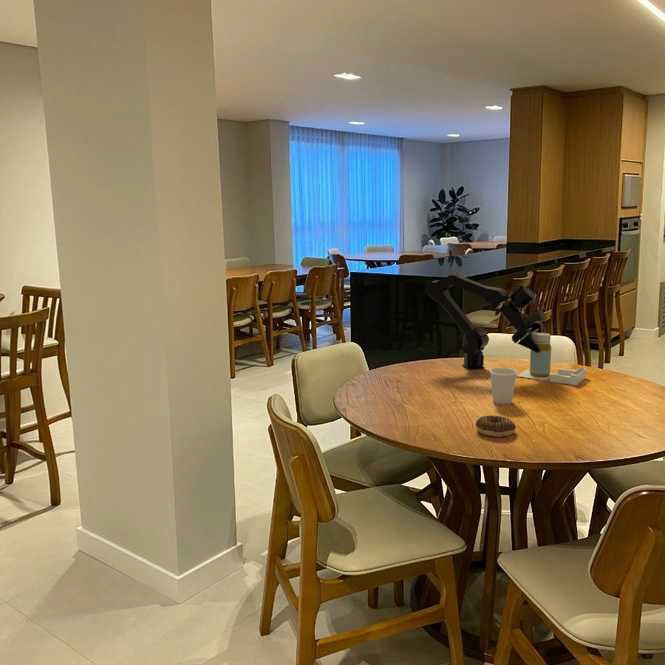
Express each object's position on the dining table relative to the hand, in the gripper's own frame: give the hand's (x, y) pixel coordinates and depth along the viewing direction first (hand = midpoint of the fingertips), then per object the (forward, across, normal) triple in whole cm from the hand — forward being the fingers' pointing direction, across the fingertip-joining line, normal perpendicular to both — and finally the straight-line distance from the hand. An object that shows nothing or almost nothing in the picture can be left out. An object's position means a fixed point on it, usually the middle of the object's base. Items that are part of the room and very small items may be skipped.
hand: (543, 349), depth 235 cm
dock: (+13, 0, +1) cm, 13 cm away
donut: (+13, -66, +1) cm, 68 cm away
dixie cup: (+7, -38, +7) cm, 39 cm away
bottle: (+6, 0, +8) cm, 10 cm away
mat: (+5, 0, +8) cm, 10 cm away
